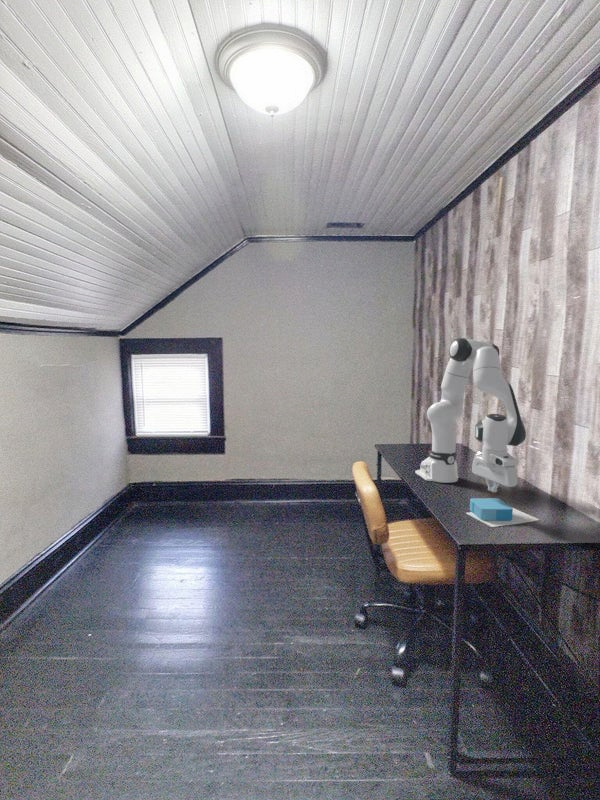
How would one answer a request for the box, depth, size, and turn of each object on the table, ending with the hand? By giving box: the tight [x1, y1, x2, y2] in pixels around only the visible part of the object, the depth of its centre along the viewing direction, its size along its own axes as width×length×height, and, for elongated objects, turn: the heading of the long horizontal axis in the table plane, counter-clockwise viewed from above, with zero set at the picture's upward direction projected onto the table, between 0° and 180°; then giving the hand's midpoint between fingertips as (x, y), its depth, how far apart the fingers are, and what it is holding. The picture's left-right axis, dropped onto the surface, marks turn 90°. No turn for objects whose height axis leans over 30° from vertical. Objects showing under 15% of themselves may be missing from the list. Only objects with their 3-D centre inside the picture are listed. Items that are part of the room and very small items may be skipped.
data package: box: [469, 497, 514, 521], centre depth 163 cm, size 12×4×12 cm
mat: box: [465, 507, 540, 528], centre depth 162 cm, size 14×22×1 cm, turn 108°
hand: (492, 491), depth 165 cm, fingers closed
